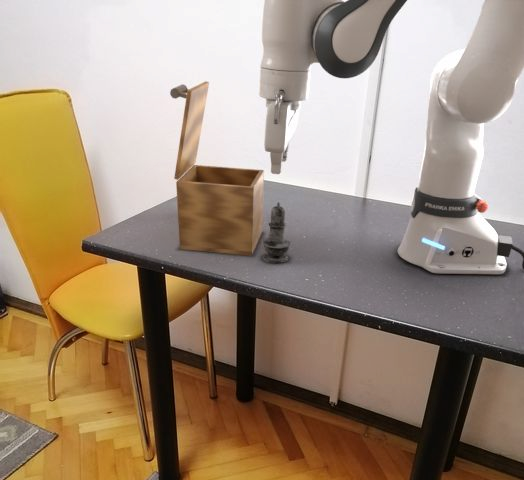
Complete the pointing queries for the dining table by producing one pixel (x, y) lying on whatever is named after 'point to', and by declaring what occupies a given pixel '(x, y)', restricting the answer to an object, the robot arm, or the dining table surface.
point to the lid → (190, 124)
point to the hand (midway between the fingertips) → (279, 166)
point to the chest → (220, 209)
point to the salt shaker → (276, 237)
